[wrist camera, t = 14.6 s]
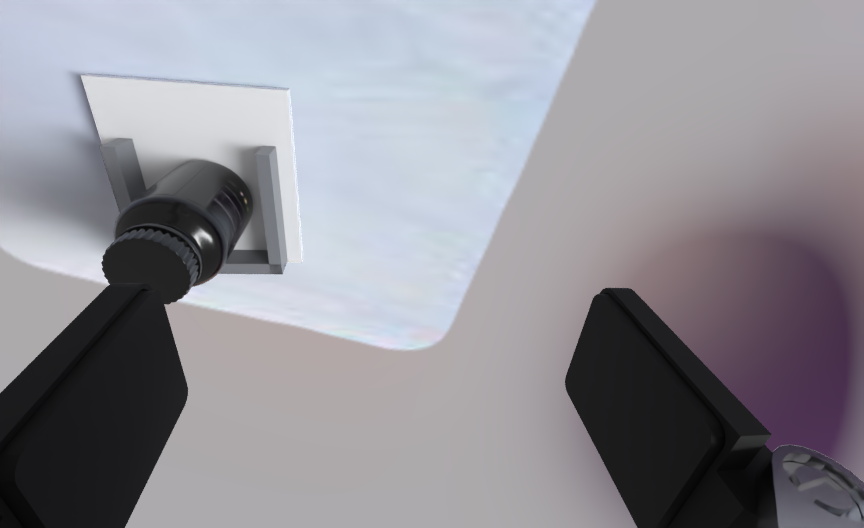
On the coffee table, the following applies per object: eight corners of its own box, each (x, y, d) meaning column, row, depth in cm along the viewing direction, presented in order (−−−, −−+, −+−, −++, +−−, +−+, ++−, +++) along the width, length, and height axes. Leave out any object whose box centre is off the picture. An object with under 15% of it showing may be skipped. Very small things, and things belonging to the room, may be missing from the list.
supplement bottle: (190, 241, 36) (117, 329, 26) (151, 166, 33) (48, 233, 22) (268, 226, 36) (226, 308, 26) (237, 150, 33) (175, 209, 22)
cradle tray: (88, 74, 30) (57, 79, 27) (289, 88, 32) (281, 95, 29) (143, 254, 37) (123, 275, 34) (303, 257, 39) (297, 276, 36)
